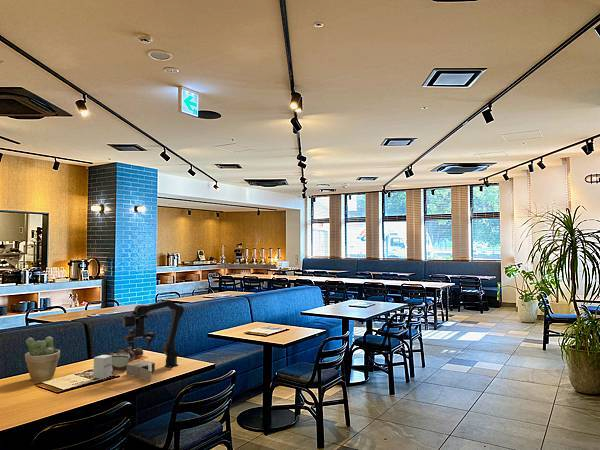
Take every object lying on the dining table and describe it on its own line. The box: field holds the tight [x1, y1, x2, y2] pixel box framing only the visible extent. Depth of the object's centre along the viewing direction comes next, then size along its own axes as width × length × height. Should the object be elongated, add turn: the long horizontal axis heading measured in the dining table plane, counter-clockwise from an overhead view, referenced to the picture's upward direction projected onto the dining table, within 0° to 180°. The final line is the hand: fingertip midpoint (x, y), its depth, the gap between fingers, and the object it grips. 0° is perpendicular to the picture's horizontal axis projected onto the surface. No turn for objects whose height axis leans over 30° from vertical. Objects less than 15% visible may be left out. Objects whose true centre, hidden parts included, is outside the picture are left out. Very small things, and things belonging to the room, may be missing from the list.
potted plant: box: [24, 336, 61, 382], centre depth 268 cm, size 18×19×25 cm
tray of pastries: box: [106, 346, 148, 364], centre depth 305 cm, size 28×17×8 cm, turn 161°
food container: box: [111, 352, 130, 372], centre depth 287 cm, size 12×6×10 cm, turn 84°
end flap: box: [138, 363, 152, 382], centre depth 265 cm, size 12×1×10 cm, turn 51°
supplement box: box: [92, 354, 113, 380], centre depth 269 cm, size 7×7×13 cm
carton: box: [125, 359, 156, 378], centre depth 277 cm, size 12×12×6 cm
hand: (139, 350), depth 281 cm, fingers open, 9 cm apart
